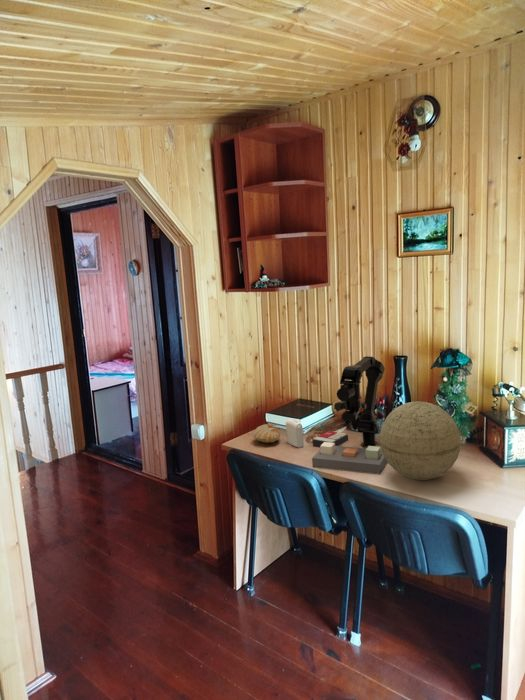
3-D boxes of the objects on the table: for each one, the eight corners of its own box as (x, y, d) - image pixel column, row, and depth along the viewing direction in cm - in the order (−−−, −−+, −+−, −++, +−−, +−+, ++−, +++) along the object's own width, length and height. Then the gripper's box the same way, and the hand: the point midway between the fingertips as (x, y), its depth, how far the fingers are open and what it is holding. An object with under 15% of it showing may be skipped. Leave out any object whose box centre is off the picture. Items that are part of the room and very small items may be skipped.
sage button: (369, 456, 220) (368, 445, 219) (381, 458, 218) (380, 446, 217) (366, 461, 215) (365, 450, 214) (378, 462, 213) (377, 451, 212)
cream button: (324, 452, 229) (324, 441, 228) (335, 453, 226) (334, 442, 226) (321, 456, 224) (320, 446, 223) (331, 458, 222) (331, 446, 221)
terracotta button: (346, 458, 225) (346, 447, 224) (358, 459, 222) (357, 448, 221) (343, 463, 220) (342, 452, 219) (354, 464, 218) (354, 453, 217)
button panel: (325, 453, 235) (324, 444, 234) (388, 459, 222) (388, 450, 221) (312, 466, 221) (311, 457, 220) (380, 474, 208) (379, 464, 207)
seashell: (268, 432, 271) (293, 436, 264) (246, 443, 253) (272, 448, 246) (268, 417, 270) (293, 421, 262) (245, 428, 252) (272, 432, 244)
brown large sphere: (454, 499, 182) (452, 417, 177) (371, 487, 197) (368, 411, 192) (466, 466, 208) (465, 394, 203) (392, 458, 223) (389, 390, 218)
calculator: (348, 433, 249) (331, 441, 237) (348, 441, 249) (332, 450, 238) (329, 429, 256) (312, 437, 244) (329, 438, 256) (312, 446, 245)
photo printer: (286, 442, 252) (284, 418, 250) (293, 440, 254) (291, 416, 252) (297, 448, 243) (295, 423, 241) (305, 446, 245) (303, 421, 243)
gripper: (342, 389, 236) (344, 421, 239) (328, 400, 220) (331, 435, 223) (366, 389, 231) (367, 423, 234) (354, 401, 215) (356, 437, 218)
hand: (355, 429), depth 227 cm, fingers closed
